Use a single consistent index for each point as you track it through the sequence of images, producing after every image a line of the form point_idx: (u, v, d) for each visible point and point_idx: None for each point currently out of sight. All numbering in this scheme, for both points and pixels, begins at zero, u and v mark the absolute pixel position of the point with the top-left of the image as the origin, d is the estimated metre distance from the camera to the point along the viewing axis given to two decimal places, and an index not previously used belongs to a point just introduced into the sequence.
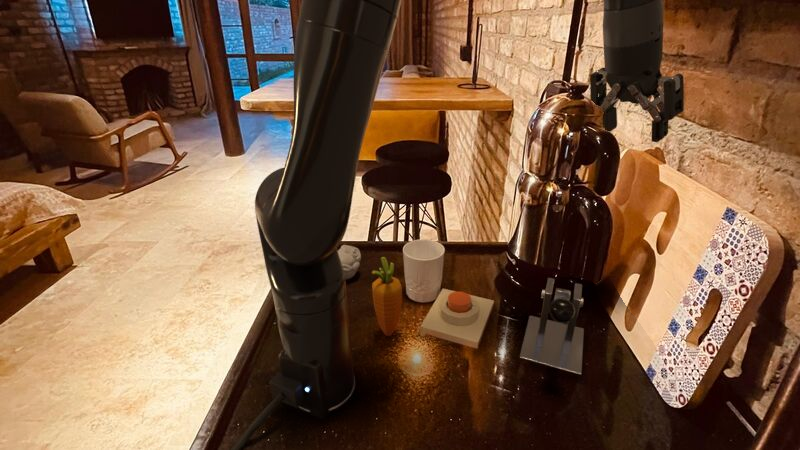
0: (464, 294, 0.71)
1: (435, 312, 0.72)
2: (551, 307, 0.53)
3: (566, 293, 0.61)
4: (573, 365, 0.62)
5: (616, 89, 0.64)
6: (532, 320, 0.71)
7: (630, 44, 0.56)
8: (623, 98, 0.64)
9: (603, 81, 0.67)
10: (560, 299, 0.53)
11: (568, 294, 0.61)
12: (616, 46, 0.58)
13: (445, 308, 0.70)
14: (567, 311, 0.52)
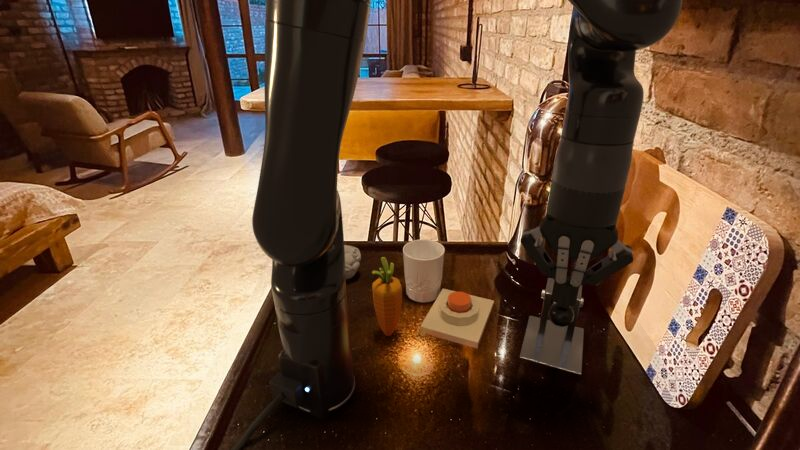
0: (464, 294, 0.71)
1: (435, 312, 0.72)
2: (550, 311, 0.53)
3: None
4: (573, 365, 0.62)
5: (565, 243, 0.47)
6: (532, 320, 0.71)
7: (609, 190, 0.42)
8: None
9: (540, 239, 0.50)
10: None
11: None
12: (591, 191, 0.42)
13: (445, 308, 0.70)
14: (566, 315, 0.52)
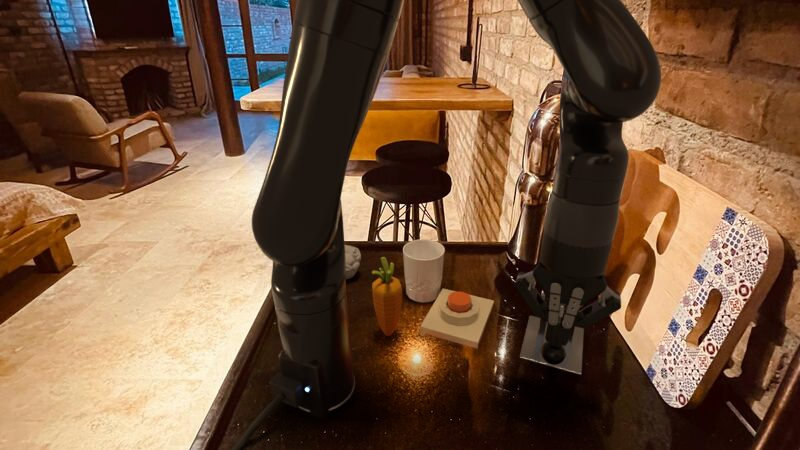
0: (464, 294, 0.71)
1: (435, 312, 0.72)
2: (542, 353, 0.55)
3: None
4: (573, 365, 0.62)
5: (557, 289, 0.49)
6: (532, 320, 0.71)
7: (597, 245, 0.44)
8: None
9: (533, 283, 0.52)
10: (551, 348, 0.55)
11: None
12: (580, 245, 0.44)
13: (445, 308, 0.70)
14: (556, 361, 0.54)
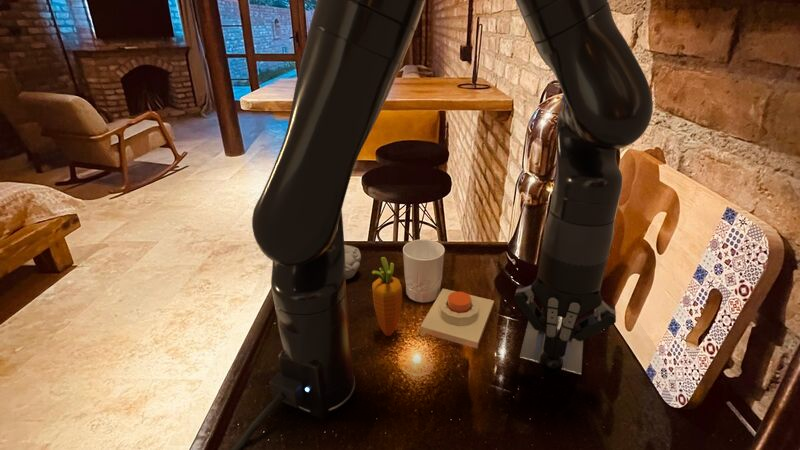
0: (464, 294, 0.71)
1: (435, 312, 0.72)
2: (540, 364, 0.58)
3: None
4: (573, 365, 0.62)
5: (554, 304, 0.51)
6: None
7: (592, 263, 0.46)
8: None
9: (531, 297, 0.54)
10: (548, 361, 0.57)
11: None
12: (576, 263, 0.46)
13: (445, 308, 0.70)
14: (554, 372, 0.57)
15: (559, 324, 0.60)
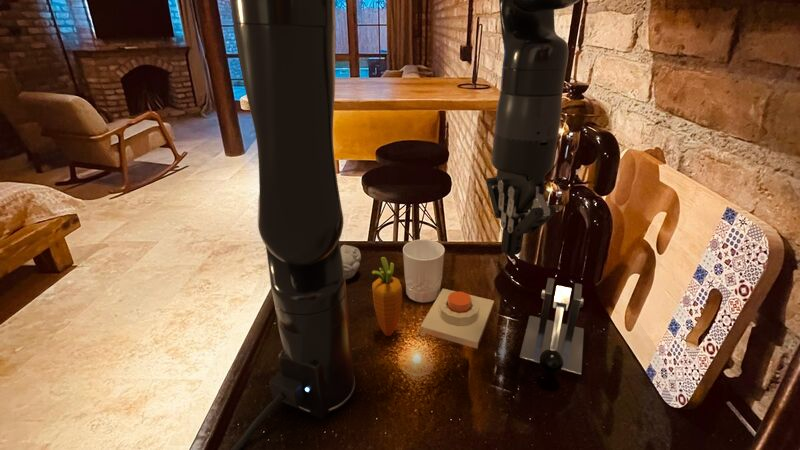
0: (464, 294, 0.71)
1: (435, 312, 0.72)
2: (540, 363, 0.58)
3: (564, 304, 0.61)
4: (573, 365, 0.62)
5: (501, 187, 0.53)
6: (532, 320, 0.71)
7: (513, 137, 0.47)
8: (506, 200, 0.54)
9: None
10: (548, 360, 0.56)
11: (567, 305, 0.61)
12: (500, 135, 0.48)
13: (445, 308, 0.70)
14: (554, 371, 0.57)
15: (559, 324, 0.60)
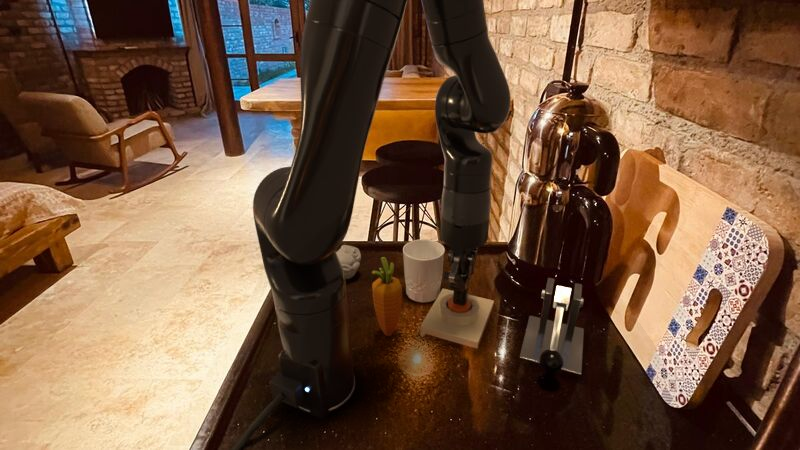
0: None
1: (435, 312, 0.72)
2: (540, 363, 0.58)
3: (564, 304, 0.61)
4: (573, 365, 0.62)
5: None
6: (532, 320, 0.71)
7: (442, 215, 0.63)
8: None
9: None
10: (548, 360, 0.56)
11: (567, 305, 0.61)
12: None
13: (445, 308, 0.70)
14: (554, 371, 0.57)
15: (559, 324, 0.60)
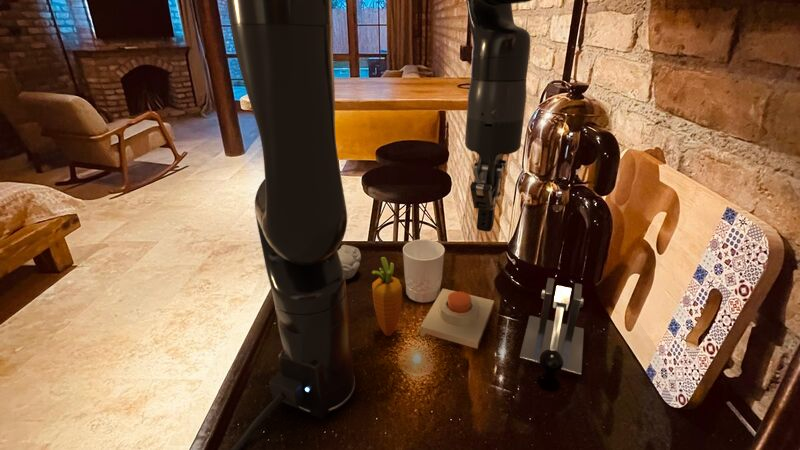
0: (464, 294, 0.71)
1: (435, 312, 0.72)
2: (540, 363, 0.58)
3: (564, 304, 0.61)
4: (573, 365, 0.62)
5: None
6: (532, 320, 0.71)
7: (468, 116, 0.54)
8: None
9: None
10: (548, 360, 0.56)
11: (567, 305, 0.61)
12: None
13: (445, 308, 0.70)
14: (554, 371, 0.57)
15: (559, 324, 0.60)
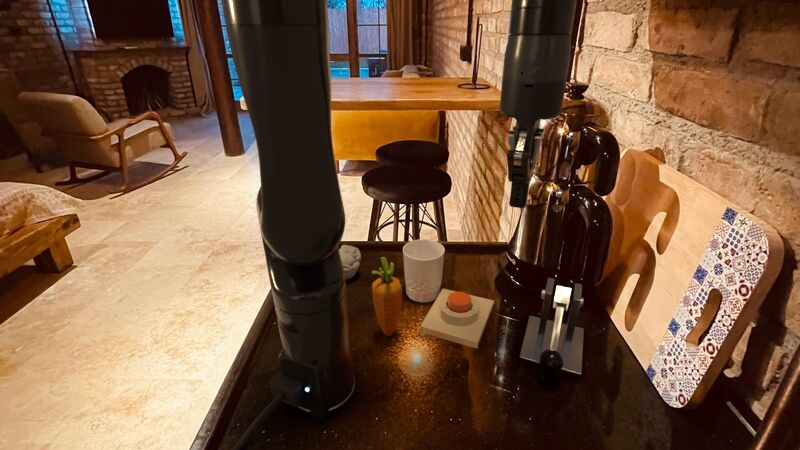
0: (464, 294, 0.71)
1: (435, 312, 0.72)
2: (540, 363, 0.58)
3: (564, 304, 0.61)
4: (573, 365, 0.62)
5: None
6: (532, 320, 0.71)
7: (505, 77, 0.49)
8: None
9: None
10: (548, 360, 0.56)
11: (567, 305, 0.61)
12: (502, 76, 0.51)
13: (445, 308, 0.70)
14: (554, 371, 0.57)
15: (559, 324, 0.60)
